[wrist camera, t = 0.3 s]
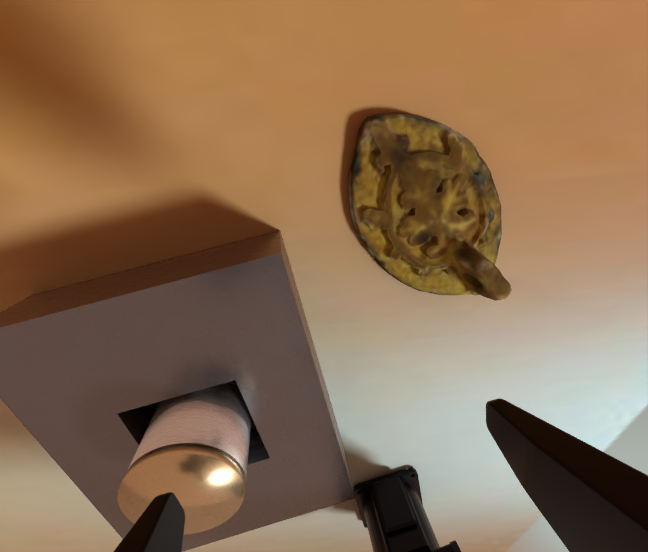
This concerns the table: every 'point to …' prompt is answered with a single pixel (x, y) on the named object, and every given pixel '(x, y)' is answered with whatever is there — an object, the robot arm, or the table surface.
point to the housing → (178, 376)
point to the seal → (426, 206)
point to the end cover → (193, 457)
